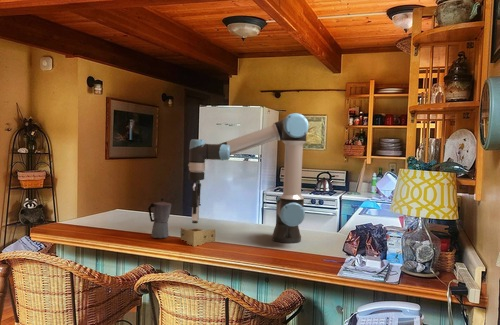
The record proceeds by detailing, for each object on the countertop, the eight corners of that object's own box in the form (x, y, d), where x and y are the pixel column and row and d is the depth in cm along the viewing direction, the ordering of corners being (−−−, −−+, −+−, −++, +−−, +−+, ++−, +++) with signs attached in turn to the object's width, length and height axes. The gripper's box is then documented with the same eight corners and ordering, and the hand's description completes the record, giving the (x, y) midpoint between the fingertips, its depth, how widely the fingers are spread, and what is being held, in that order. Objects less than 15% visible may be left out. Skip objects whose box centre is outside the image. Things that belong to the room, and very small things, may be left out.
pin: (200, 223, 195) (201, 196, 194) (194, 223, 192) (194, 196, 192) (196, 221, 197) (196, 195, 197) (189, 222, 195) (190, 195, 194)
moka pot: (176, 235, 212) (177, 198, 211) (155, 241, 199) (156, 201, 198) (163, 233, 217) (163, 196, 216) (141, 238, 204) (142, 199, 203)
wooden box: (217, 242, 201) (218, 228, 201) (193, 246, 191) (193, 231, 191) (200, 236, 212) (200, 223, 212) (176, 240, 202) (176, 226, 202)
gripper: (191, 170, 202) (190, 216, 203) (185, 172, 186) (184, 222, 187) (206, 170, 202) (205, 217, 203) (201, 172, 186) (200, 223, 187)
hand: (195, 219), depth 195 cm, fingers closed on pin, 3 cm apart
